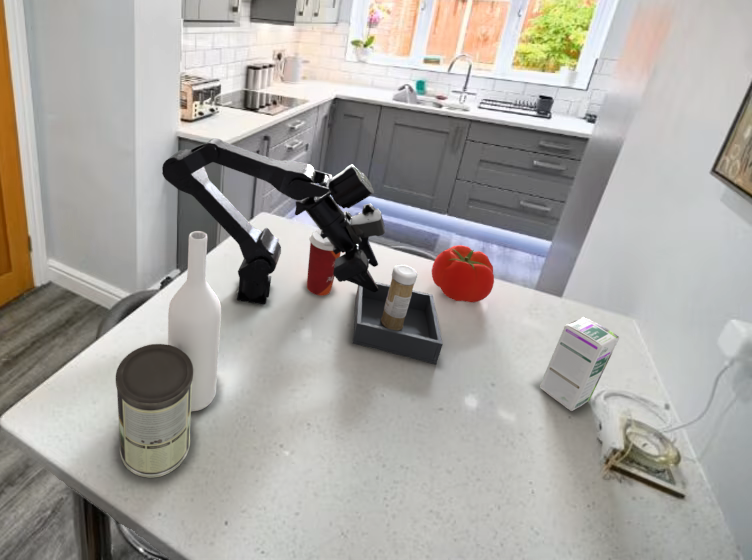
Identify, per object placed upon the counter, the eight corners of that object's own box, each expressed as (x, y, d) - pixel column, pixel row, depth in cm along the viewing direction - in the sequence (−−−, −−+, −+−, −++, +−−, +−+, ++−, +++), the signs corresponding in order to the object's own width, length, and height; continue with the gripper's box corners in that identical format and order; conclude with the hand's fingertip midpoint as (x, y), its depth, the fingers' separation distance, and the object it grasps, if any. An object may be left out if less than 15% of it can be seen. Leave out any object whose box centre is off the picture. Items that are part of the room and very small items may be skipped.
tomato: (439, 269, 113) (450, 234, 109) (494, 294, 105) (508, 256, 101) (417, 290, 104) (428, 253, 100) (476, 319, 95) (490, 279, 91)
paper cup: (338, 299, 98) (348, 246, 93) (304, 297, 98) (312, 244, 93) (331, 279, 106) (341, 228, 100) (300, 276, 105) (307, 226, 100)
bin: (352, 343, 86) (356, 323, 84) (355, 296, 100) (359, 278, 98) (436, 364, 82) (443, 344, 80) (427, 312, 96) (433, 294, 94)
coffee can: (105, 440, 64) (101, 367, 59) (163, 401, 71) (164, 332, 66) (144, 495, 57) (143, 419, 52) (204, 446, 64) (209, 374, 59)
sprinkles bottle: (380, 314, 93) (393, 261, 88) (402, 319, 92) (416, 266, 87) (380, 328, 89) (394, 273, 84) (403, 334, 88) (418, 279, 83)
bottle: (205, 418, 68) (215, 256, 57) (158, 403, 70) (159, 242, 59) (222, 379, 76) (234, 228, 64) (179, 366, 78) (183, 217, 66)
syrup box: (572, 412, 74) (605, 347, 69) (537, 386, 79) (565, 323, 74) (589, 401, 77) (622, 337, 71) (554, 376, 82) (583, 314, 76)
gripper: (363, 219, 75) (416, 287, 76) (365, 180, 91) (409, 237, 93) (311, 249, 79) (362, 312, 81) (322, 207, 96) (364, 260, 98)
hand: (376, 277), depth 88 cm, fingers open, 9 cm apart
